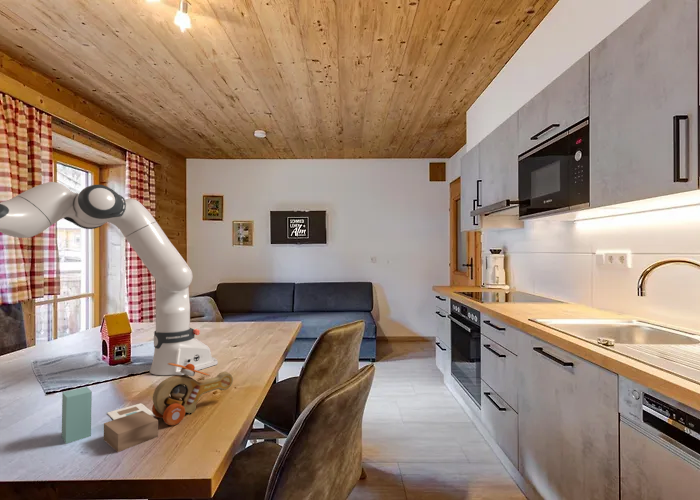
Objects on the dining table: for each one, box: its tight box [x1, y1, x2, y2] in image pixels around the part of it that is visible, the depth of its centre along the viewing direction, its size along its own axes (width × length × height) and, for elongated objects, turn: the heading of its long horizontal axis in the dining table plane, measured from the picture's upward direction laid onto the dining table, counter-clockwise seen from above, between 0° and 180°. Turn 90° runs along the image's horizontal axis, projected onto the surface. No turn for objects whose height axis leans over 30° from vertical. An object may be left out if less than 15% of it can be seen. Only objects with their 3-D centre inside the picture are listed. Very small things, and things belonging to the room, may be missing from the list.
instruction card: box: [106, 402, 156, 420], centre depth 91 cm, size 8×11×1 cm
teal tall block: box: [61, 386, 93, 445], centre depth 80 cm, size 4×4×10 cm
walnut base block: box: [103, 411, 159, 453], centre depth 79 cm, size 8×8×4 cm
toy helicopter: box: [151, 363, 234, 426], centre depth 93 cm, size 8×21×14 cm, turn 140°
